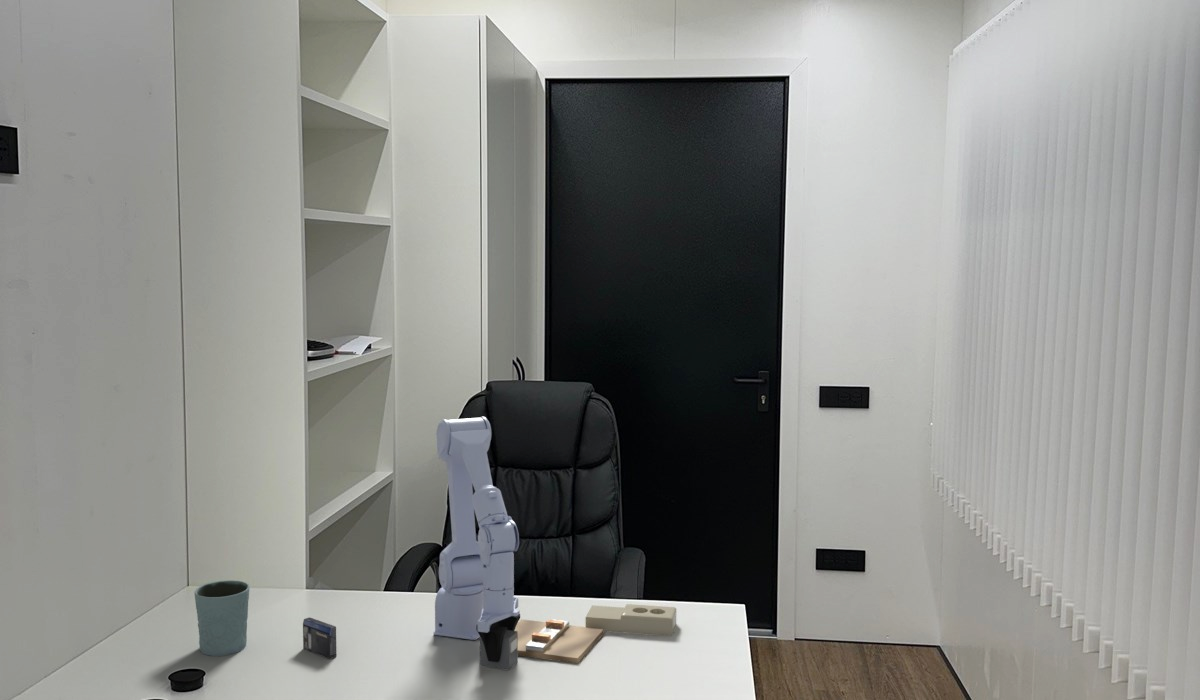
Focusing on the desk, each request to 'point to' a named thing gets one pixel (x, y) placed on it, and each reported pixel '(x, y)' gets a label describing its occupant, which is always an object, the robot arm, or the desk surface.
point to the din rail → (547, 635)
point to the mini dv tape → (319, 637)
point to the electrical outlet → (633, 619)
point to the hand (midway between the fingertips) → (498, 656)
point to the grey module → (503, 652)
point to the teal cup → (222, 617)
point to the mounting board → (558, 641)
